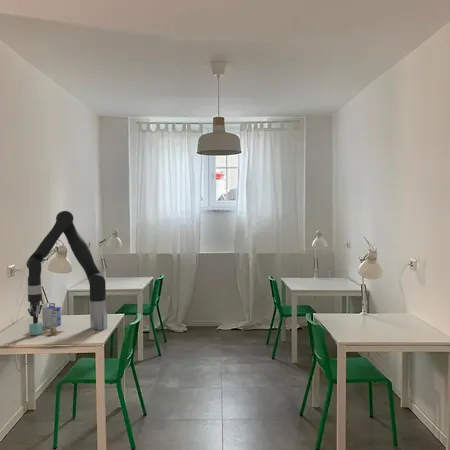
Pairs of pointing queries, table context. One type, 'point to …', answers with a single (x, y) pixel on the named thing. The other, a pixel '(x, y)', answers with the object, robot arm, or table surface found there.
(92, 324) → the robot arm
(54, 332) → the tan block
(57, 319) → the ink cartridge box
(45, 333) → the board
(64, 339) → the table surface
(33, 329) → the aqua matte cube
